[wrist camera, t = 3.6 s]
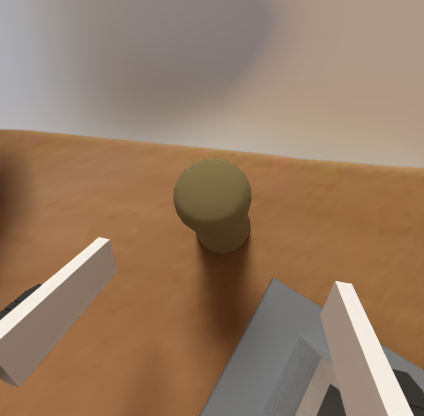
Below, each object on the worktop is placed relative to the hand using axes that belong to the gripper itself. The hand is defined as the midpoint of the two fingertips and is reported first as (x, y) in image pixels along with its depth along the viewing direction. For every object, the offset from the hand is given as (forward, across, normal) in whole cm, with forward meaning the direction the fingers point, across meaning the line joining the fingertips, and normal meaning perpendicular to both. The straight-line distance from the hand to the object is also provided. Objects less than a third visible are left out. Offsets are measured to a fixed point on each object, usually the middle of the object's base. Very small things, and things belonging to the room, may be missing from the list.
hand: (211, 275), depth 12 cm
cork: (+10, -1, -3) cm, 11 cm away
